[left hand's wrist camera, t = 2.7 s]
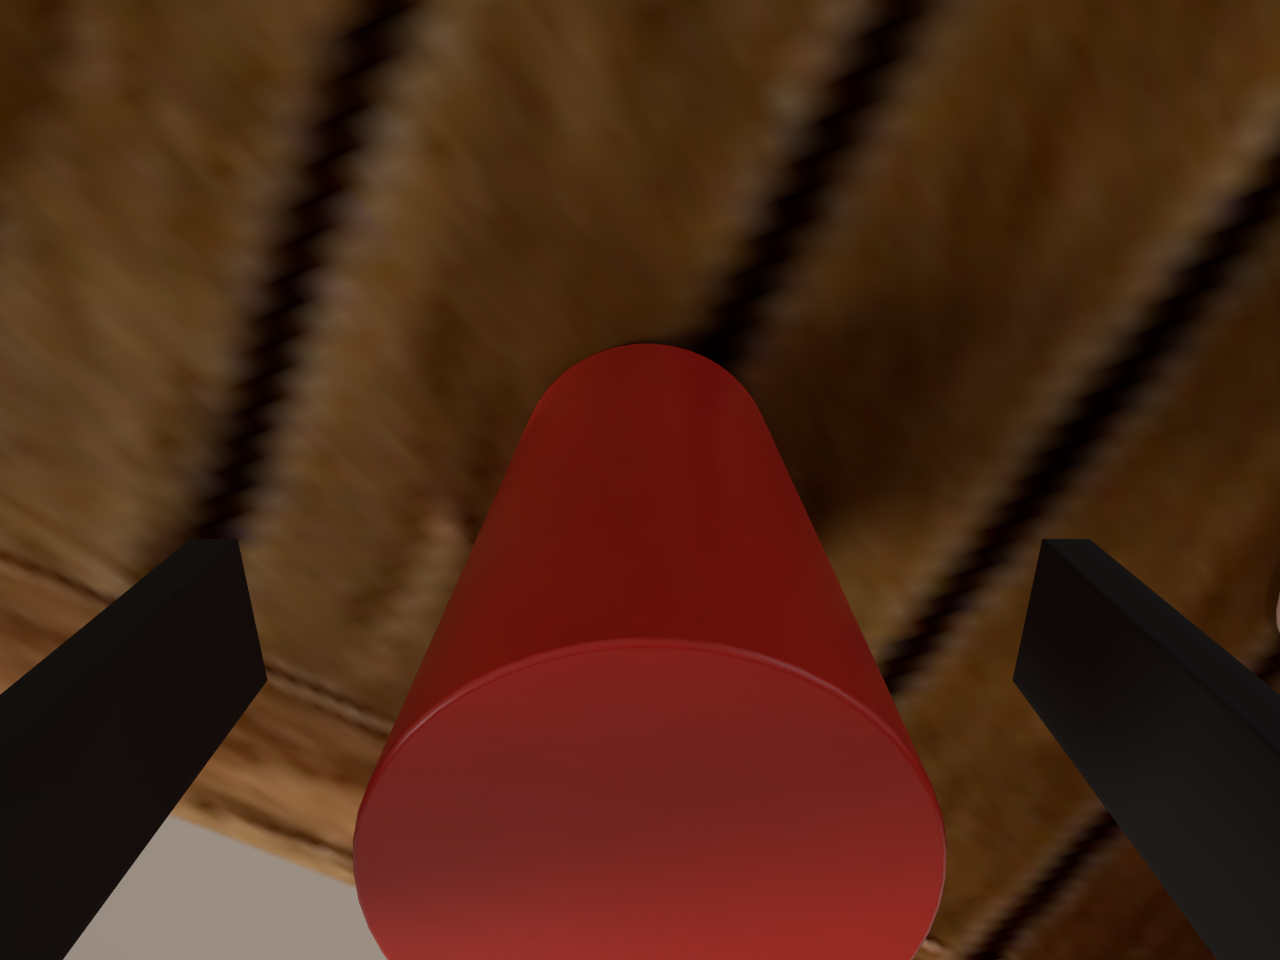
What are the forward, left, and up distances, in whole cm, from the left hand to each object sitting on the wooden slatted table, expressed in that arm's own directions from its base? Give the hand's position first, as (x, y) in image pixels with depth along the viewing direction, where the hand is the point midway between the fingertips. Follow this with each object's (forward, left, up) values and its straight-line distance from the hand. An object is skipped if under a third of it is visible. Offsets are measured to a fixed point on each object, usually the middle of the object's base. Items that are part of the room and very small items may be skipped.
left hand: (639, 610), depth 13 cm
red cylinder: (0, 0, -6) cm, 6 cm away
